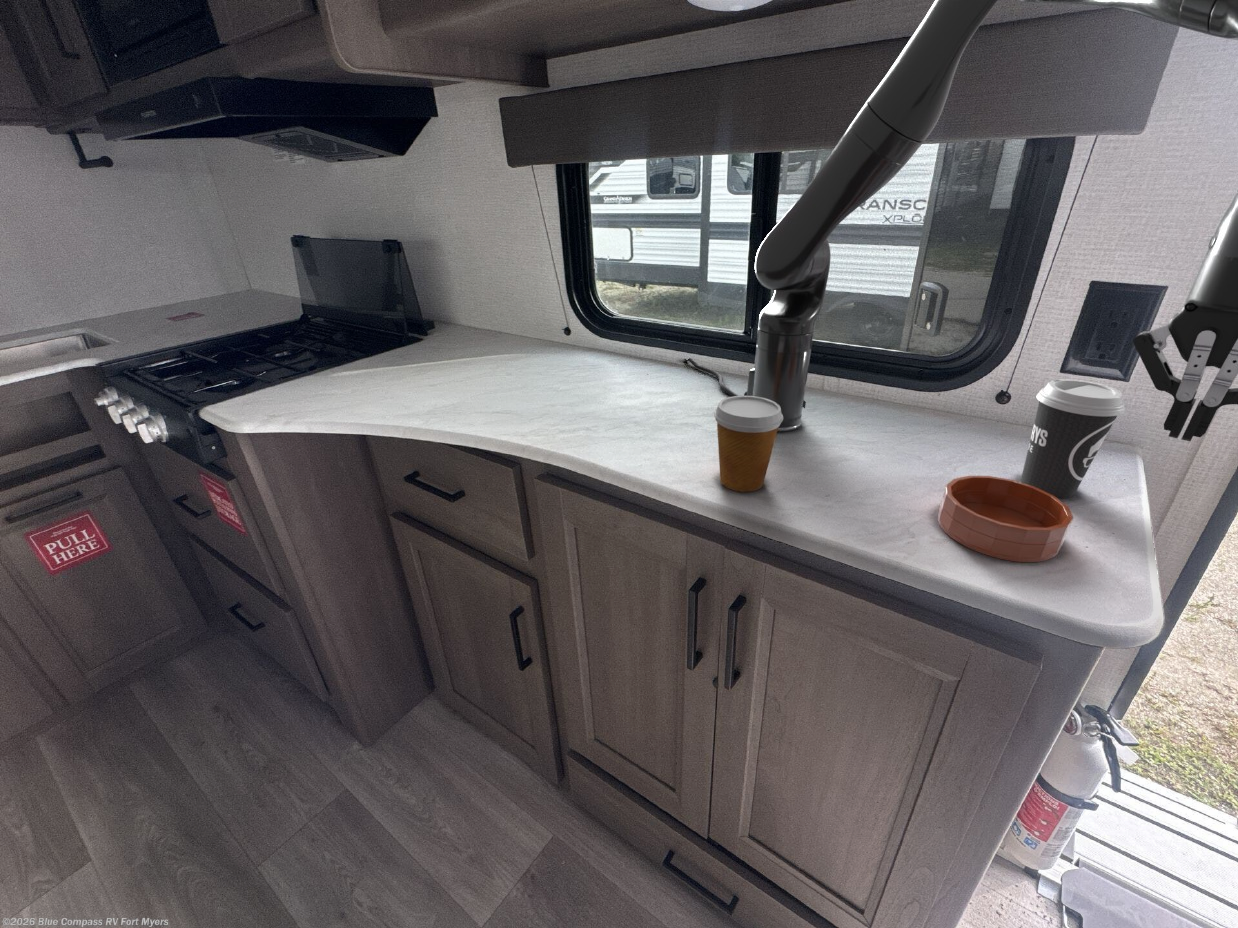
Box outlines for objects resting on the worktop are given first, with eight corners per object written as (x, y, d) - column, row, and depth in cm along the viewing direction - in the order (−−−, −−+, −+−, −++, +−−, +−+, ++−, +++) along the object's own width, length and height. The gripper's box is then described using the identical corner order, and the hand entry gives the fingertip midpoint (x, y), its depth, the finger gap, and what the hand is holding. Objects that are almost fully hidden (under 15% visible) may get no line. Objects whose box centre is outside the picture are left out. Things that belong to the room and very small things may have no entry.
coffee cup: (1055, 471, 86) (1091, 376, 79) (1105, 503, 78) (1151, 400, 71) (993, 472, 86) (1024, 377, 79) (1037, 504, 77) (1076, 401, 71)
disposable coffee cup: (783, 495, 80) (794, 417, 75) (717, 499, 80) (723, 420, 74) (763, 465, 89) (771, 393, 83) (703, 468, 88) (707, 395, 83)
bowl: (920, 529, 72) (928, 498, 70) (960, 494, 80) (968, 466, 78) (1040, 577, 63) (1054, 543, 61) (1072, 532, 71) (1085, 501, 69)
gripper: (1388, 254, 46) (1278, 446, 54) (1172, 243, 55) (1105, 410, 63) (1394, 263, 42) (1274, 471, 49) (1159, 249, 51) (1088, 428, 58)
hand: (1180, 436), depth 56 cm, fingers closed
